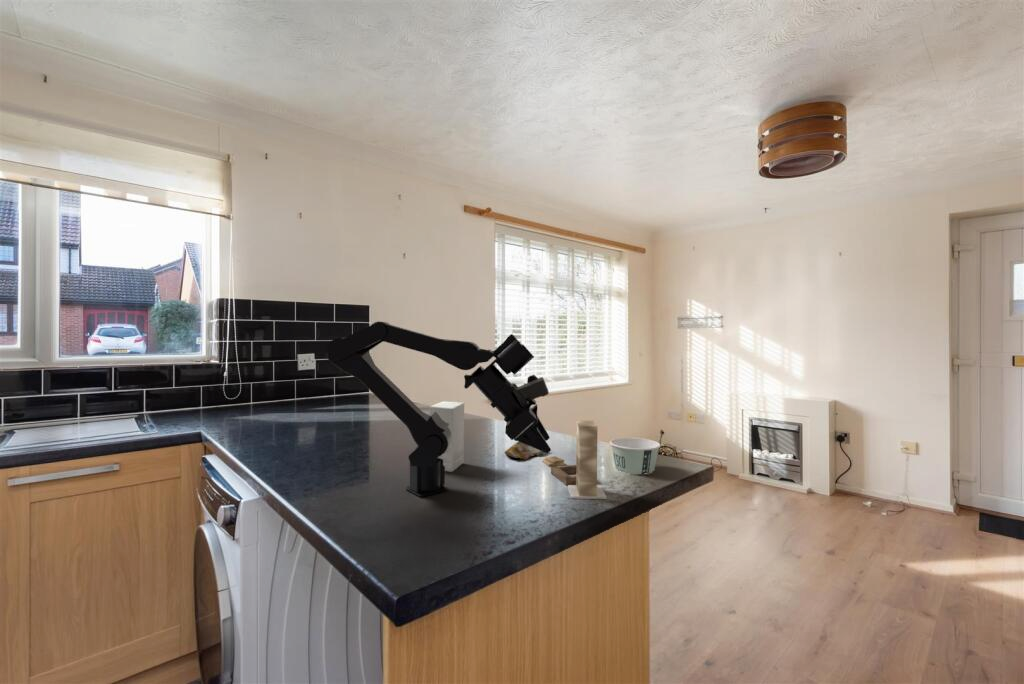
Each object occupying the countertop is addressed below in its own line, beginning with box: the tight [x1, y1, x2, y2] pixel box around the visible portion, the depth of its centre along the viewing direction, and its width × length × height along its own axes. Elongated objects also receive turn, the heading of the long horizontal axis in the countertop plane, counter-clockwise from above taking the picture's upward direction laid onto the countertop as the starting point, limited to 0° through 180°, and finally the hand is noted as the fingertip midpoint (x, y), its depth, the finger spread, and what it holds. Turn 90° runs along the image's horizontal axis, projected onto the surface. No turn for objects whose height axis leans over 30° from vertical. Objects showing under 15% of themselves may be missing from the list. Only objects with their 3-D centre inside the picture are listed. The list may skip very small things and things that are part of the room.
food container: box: [609, 437, 662, 475], centre depth 114 cm, size 12×12×7 cm
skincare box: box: [428, 401, 465, 473], centre depth 115 cm, size 8×7×16 cm
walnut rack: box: [550, 464, 576, 486], centre depth 107 cm, size 7×9×2 cm
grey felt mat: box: [567, 485, 607, 500], centre depth 97 cm, size 7×7×1 cm
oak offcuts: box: [542, 455, 565, 468], centre depth 118 cm, size 4×5×1 cm
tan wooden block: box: [575, 420, 598, 496], centre depth 96 cm, size 4×6×14 cm, turn 178°
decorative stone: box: [503, 441, 543, 461], centre depth 127 cm, size 10×4×15 cm
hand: (548, 445), depth 97 cm, fingers open, 9 cm apart
